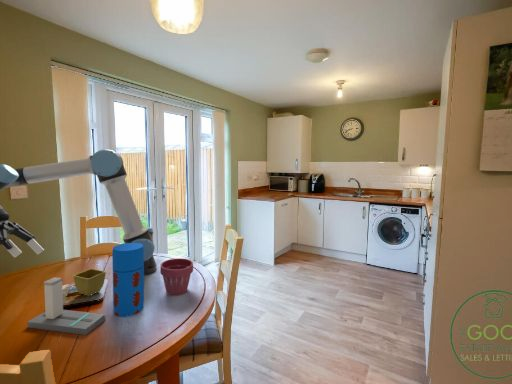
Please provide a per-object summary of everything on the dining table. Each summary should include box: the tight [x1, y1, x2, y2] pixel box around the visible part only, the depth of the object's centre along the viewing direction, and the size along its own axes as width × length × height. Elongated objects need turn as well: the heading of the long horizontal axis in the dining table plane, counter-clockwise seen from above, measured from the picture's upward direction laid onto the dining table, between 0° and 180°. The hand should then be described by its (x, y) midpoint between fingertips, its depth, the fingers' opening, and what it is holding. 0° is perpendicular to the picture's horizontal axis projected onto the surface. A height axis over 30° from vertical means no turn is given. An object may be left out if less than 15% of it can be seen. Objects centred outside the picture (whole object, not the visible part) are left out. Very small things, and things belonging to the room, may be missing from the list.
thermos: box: [111, 243, 145, 318], centre depth 103 cm, size 11×11×25 cm
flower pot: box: [73, 268, 107, 297], centre depth 116 cm, size 9×9×9 cm
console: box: [26, 309, 106, 336], centre depth 94 cm, size 22×9×2 cm, turn 82°
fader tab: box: [43, 276, 64, 319], centre depth 94 cm, size 3×4×13 cm
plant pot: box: [159, 257, 194, 296], centre depth 120 cm, size 14×14×13 cm
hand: (30, 253), depth 105 cm, fingers open, 13 cm apart
